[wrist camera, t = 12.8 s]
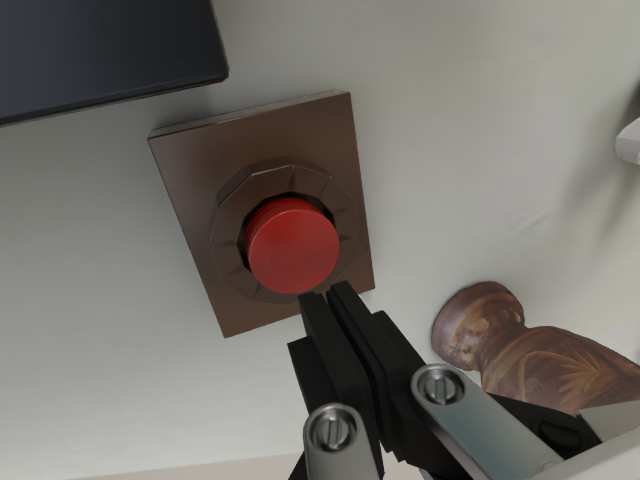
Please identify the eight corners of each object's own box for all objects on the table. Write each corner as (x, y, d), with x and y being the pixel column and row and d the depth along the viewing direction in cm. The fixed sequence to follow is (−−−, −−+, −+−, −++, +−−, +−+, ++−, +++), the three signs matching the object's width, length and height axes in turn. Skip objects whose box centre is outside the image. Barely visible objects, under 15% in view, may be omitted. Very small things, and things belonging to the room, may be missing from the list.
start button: (233, 210, 16) (237, 225, 14) (320, 186, 17) (332, 198, 15) (256, 285, 18) (262, 305, 16) (333, 261, 19) (346, 278, 17)
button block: (152, 129, 17) (140, 145, 14) (334, 89, 19) (365, 93, 15) (222, 315, 22) (226, 361, 19) (360, 270, 24) (388, 305, 20)
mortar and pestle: (489, 219, 25) (1137, 553, 8) (562, 256, 29) (1110, 539, 12) (405, 352, 28) (741, 810, 11) (480, 370, 32) (821, 733, 14)
